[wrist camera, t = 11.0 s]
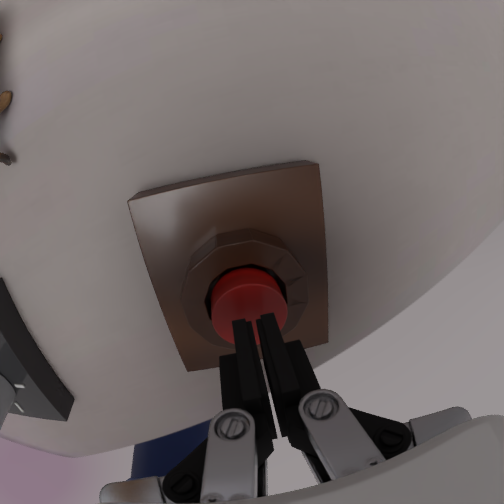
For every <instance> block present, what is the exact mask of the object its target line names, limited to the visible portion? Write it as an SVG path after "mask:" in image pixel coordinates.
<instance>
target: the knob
mask: <svg viewBox="0 0 504 504" xmlns="http://www.w3.org/2000/svg"><path fill="white" fill-rule="evenodd" d="M15 397H16V393H15V390H14V389H13V387H12V386H11V384H10V383H9V382H8V381H7V380H6V379H5V378H4V377H3V376H2V375H1V374H0V430H1V427H2V425H3V423H4V420H5V418H6V416H7V414H8V412H9V409H10V407H11V405H12V403H13V401H14V399H15Z"/></svg>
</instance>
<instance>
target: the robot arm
mask: <svg viewBox="0 0 504 504" xmlns="http://www.w3.org/2000/svg"><path fill="white" fill-rule="evenodd" d="M260 318H261V319H256V325H257V330H258V335H259V340H260V346H261V351H262V356H263V361H264V366H265V371H266V375H267V379H268V383H269V387H270V391H271V395H272V399H273V403H274V407H275V411H276V415H277V419H278V423H279V427H280V431H281V435H282V437H286V436H288V440H289V443H291V446H292V447H294V448H296V449H299V450H301V451H302V454H303V456H304V458H305V460H306V462H307V464H308V465H309V467H310V469H311V471H312V473H313V475H314V477H315V479H316V480H317V482H318V485H315V486H311V487H307V488H303V489H299V490H295V491H290V492H286V493H281V494H276V495H270V496H268V485H267V458H268V457H269V455H270V454H271V453H272V452H273V451H274V448H273V442H272V439H277V434H276V429H275V424H274V419H273V415H272V410H271V405H270V400H269V396H268V391H267V387H266V383H265V379H264V374H263V370H262V366H261V361H260V357H259V353H258V348H257V344H256V339H255V335H254V331H253V326H252V322H251V321H247V322H246V320H245V318H243V319H238V320H233V321H232V327H233V335H234V343H235V350H236V353H233V354H228V355H222V356H219V367H220V381H221V394H222V406H223V411H221V412H219V413H218V414H217V415H215V416H214V418H213V419H212V420H211V423H210V426H209V433H208V437H207V438H206V439H205V440H204V441H203V442H202V443H201V444H200V445H199V446H198V447H197V448H196V449H195V450H193V451H192V452H191V453H190V454H189V455H188V456H187V457H186V458H185V459H184V460H182V461H181V462H180V463H179V464H178V465H177V466H176V467H174V468H173V469H172V470H171V471H170V472H169V473H168V474H167V475H166V476H164V477H159V478H158V477H157V476H153V477H148V478H142V479H136V480H129V481H123V482H114V483H109V484H107V485H105V486H104V487H103V488H102V489H101V491H100V497H99V498H100V504H504V416H501V415H487V416H482V417H477V418H474V419H472V418H471V416H470V414H469V412H468V411H467V410H466V409H464V408H462V407H452V408H449V409H446V410H443V411H439V412H436V413H432V414H429V415H425V416H422V417H418V418H414V419H410V420H409V422H406V423H400V422H397V421H393V420H390V419H386V418H383V417H379V416H376V415H372V414H369V413H366V412H362V411H359V410H356V409H353V408H349V407H348V406H347V405H346V403H345V402H344V401H343V399H342V398H341V397H340V396H339V395H338V394H337V393H336V392H334V391H331V390H327V389H321V388H320V386H319V383H318V381H317V379H316V376H315V374H314V371H313V369H312V367H311V364H310V362H309V359H308V357H307V355H306V352H305V350H304V348H303V345H302V343H301V341H300V340H294V341H290V342H286V343H284V340H283V337H282V335H281V332H280V329H279V326H278V323H277V320H276V317H275V315H274V312H272V313H267V314H263V315H260Z"/></svg>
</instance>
